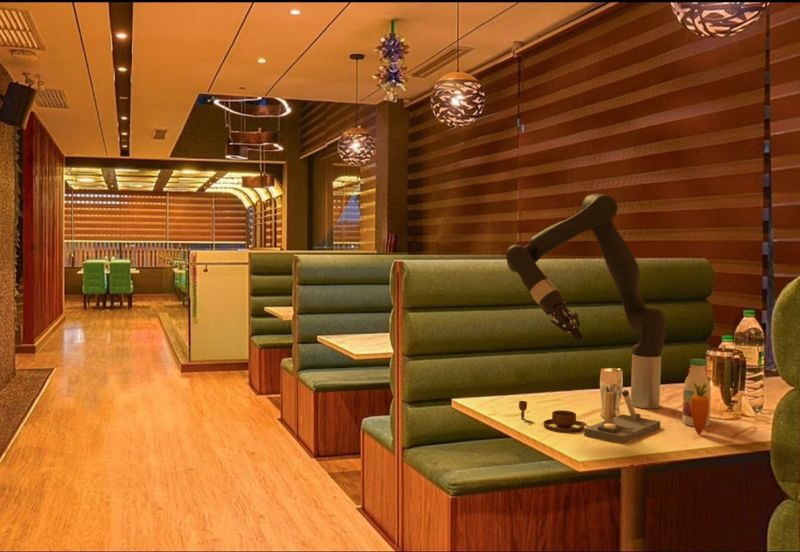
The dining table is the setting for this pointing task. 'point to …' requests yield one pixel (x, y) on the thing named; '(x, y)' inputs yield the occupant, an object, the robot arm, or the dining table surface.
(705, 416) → the carrot
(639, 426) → the switch panel
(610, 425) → the push button
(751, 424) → the dining table surface
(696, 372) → the milk bottle
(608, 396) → the block
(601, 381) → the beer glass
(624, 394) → the toggle lever
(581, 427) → the place setting
